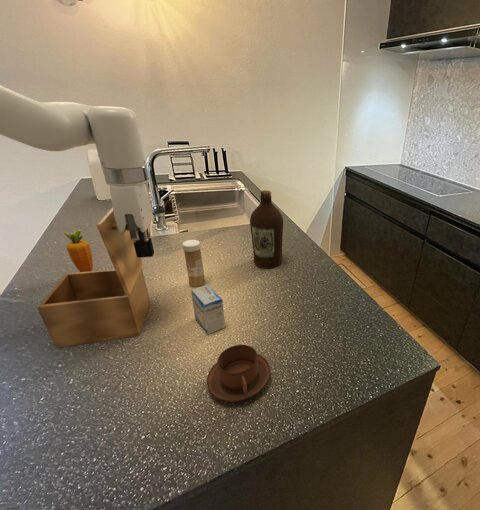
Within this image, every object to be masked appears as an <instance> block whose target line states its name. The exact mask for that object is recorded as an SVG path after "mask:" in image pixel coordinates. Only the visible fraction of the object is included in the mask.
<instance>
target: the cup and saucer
mask: <svg viewBox="0 0 480 510" xmlns="http://www.w3.org/2000/svg"><path fill="white" fill-rule="evenodd" d="M270 376H271V365H270V364H269V362H268V360H267V359H266V358H265V357H264V356H263V355H261V354H258V352H257V350H256V349H255V348H254V347H253V346H250V345H248V344H237V345H232V346H229V347H227V348H226V349H224V350H222V351H221V353H219V356H218V358H217V361H216V362H215V363H214V364H213V366H212V367H211V368H210V369H209V371H208V373H207V376H206V386H207V389H208V391H209V393H210V394H211V395H212V396H213V397H215V398H216V399H218V400H220V401H223V402H230V403H231V402H233V403H235V402H241V401H245V400H248V399H250V398H252V397H254V396H256V395H257V394H259V393H260V392H261V391H262V390H263V389H264V388H265V386H266V385H267V383H268V382H269V379H270Z"/></svg>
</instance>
